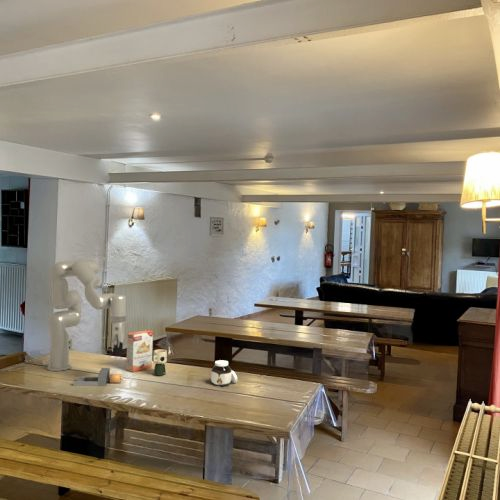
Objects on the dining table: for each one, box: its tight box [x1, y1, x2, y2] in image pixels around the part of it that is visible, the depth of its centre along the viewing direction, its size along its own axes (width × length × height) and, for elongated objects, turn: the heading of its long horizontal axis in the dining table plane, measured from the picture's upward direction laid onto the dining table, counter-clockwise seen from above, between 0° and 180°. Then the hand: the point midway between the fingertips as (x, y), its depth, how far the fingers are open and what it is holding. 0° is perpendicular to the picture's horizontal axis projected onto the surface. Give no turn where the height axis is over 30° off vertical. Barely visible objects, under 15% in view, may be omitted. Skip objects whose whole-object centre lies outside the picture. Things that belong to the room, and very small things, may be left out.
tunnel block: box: [72, 367, 111, 387], centre depth 246 cm, size 16×10×6 cm, turn 96°
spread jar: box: [210, 359, 239, 387], centre depth 249 cm, size 12×11×12 cm
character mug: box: [152, 349, 168, 376], centre depth 262 cm, size 11×7×13 cm, turn 152°
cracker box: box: [125, 329, 154, 373], centre depth 272 cm, size 14×6×21 cm, turn 143°
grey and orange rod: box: [84, 373, 124, 384], centre depth 246 cm, size 19×4×4 cm, turn 96°
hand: (117, 352), depth 247 cm, fingers open, 9 cm apart
